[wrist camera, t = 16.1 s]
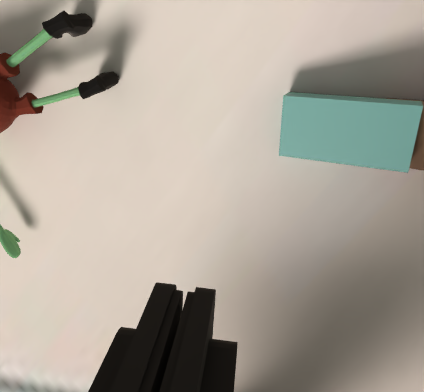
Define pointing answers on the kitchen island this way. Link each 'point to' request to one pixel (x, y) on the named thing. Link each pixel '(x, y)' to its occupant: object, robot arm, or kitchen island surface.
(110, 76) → the toy
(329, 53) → the kitchen island surface
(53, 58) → the kitchen island surface
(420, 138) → the domino
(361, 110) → the domino
